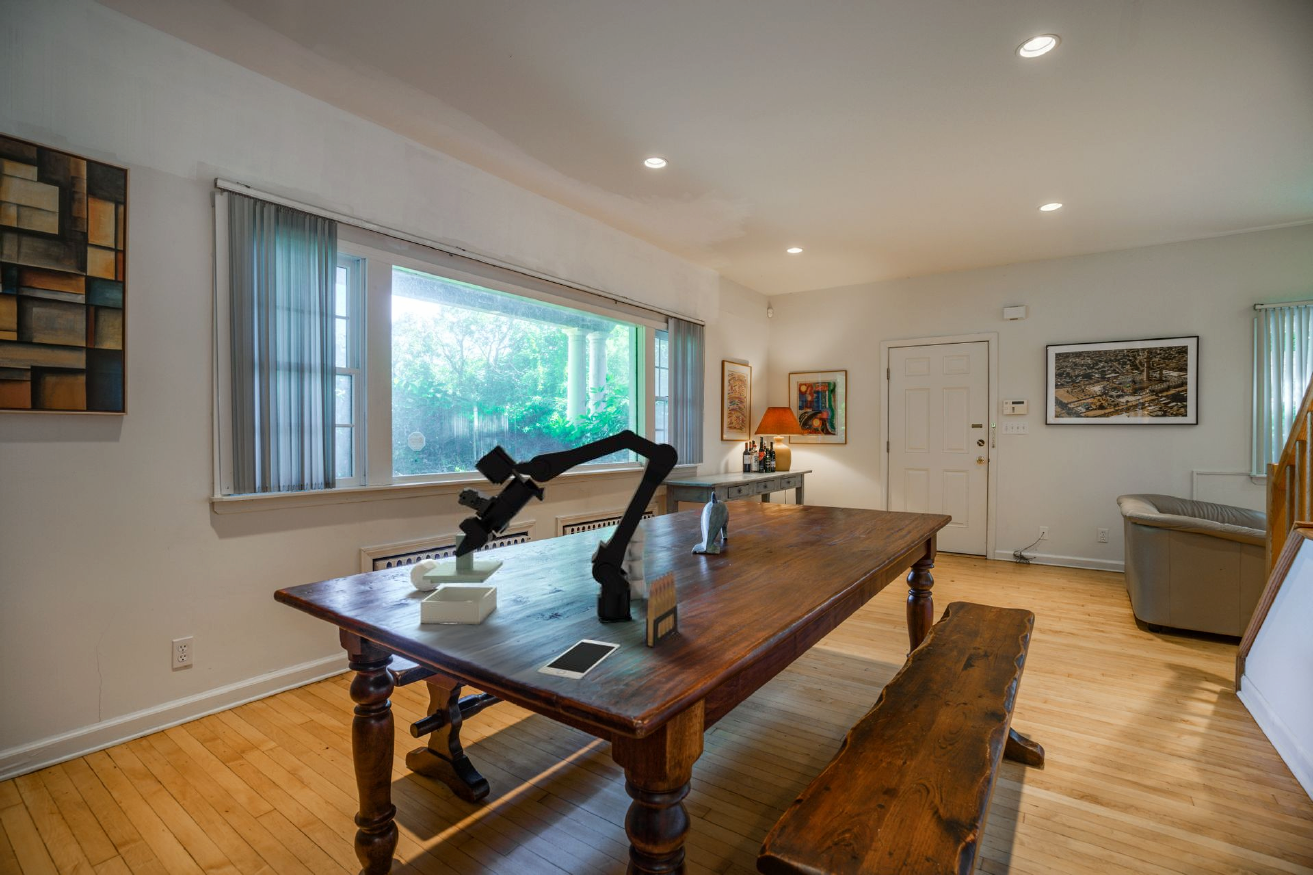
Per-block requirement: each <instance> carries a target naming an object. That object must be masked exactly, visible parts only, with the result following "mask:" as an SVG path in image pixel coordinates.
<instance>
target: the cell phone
mask: <svg viewBox="0 0 1313 875" xmlns="http://www.w3.org/2000/svg"><path fill="white" fill-rule="evenodd" d="M620 647H621V645H620V644H618V643H612V642H611V643H610V642H605V641H599V640H591V639H584V638H583V639H581V640H580V641H578V642H577V643H575V644H574V645H572V646H571V647H569V649H567V650H566V651H564V652H562V653H561V654H560V655H558V656H557V657H555V658H554V659H553V660H551V661H550V662H549V663H547V664H545V665H544V666H542V667H541V668H540V669H538V670H537V673H538V674H543V675H547V676H554V677H560V678H565V679H571V680H578V681H579V680H581V679H583V678H584V677H585V676H587V675H588V674H589V673H590V672H591V671H593V669H595V668H596V667H598V665H600V664H601V663H602V662H603V661H605V660H606V659H607V658H608V657H609V656H611V655H612V654H613V653H614V652H616V651H617V650H618V649H619V648H620ZM616 649H617V650H616Z"/></svg>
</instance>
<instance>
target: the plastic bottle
mask: <svg viewBox="0 0 1313 875" xmlns="http://www.w3.org/2000/svg"><path fill="white" fill-rule="evenodd" d="M641 520H642V519H641ZM641 520H640V522H639V524H638V526H637V528H636V530H635V532H634V534H633V536H632V538H631V540H630V542H629V544H628V546H627V549H626V553H625V556H624V560H623V564H622V568H623V569H624V570H625V571H626V572H627V573H628V577H629V584H630V585H629V587H630V589H631V601H632V600H640V599H642V598H644V596H645V595H646V592H647V582H646V579H645V569H644V562H645V560H644V557H645V546H646V539H647V535H646V532H645V531H644V529H643V527H642V526H641V524H640V523H641Z"/></svg>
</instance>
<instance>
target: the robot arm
mask: <svg viewBox="0 0 1313 875" xmlns="http://www.w3.org/2000/svg"><path fill="white" fill-rule="evenodd" d="M623 450H629V451H631V452H633V453H635V454H638V455H639V456H642V457H643V458H645V459H646V461H645V464H644V468H643V472H642V474H641V475H642V476H641V479H640V481H639V483H638V484H637V487H636V489H635V490H634V492H633V494H632V496H631V498H630V500H629V502H628V504H627V506H626V508H625V510H624V512H623V513H622V516H621V518H620V520H619V521H618V523H617V525H616V527H615V530H614V531H613V533H612V535H611V536H610V537H609V539H608V540H607V541H606V542H605V541H604V540H601V539H600V540H599V543H598V547H597V549H596V551H594V553H592V554H591V561H590V563H591V564H592V565H591V566H592V567H591V575H592V579H594V581H595V582H597V583H598V584H600V586H599V593H598V594H596V614H597V617H598V618H599V619H600V622H602V623H609V622H625V621H626V622H629V621H633V616H632V614H631V608H632V606H631V604H632V600H631V589H630V587H629V585H630V584H629V577H628V573H627V572H626V571H625V570H624V569H623V568H622V564H623V560H624V556H625V553H626V549H627V546H628V544H629V542H630V540H631V538H632V536H633V534H634V532H635V530H636V528H637V526H638V524H639V525H640V523H641V522H640V520H642V518H643V517H644V515H645V512H646V511H647V508H648V507H649V505H650V503H651V500H652V498H653V497H654V496H655V495H654V494H655V493H656V490H657V489H658V488H659V486H660V485H661V484H662V483H663V482H664V481H665V479H666V478H667V477H668V476H669V474H670V473H671V472H672V470H674V468H676V466H677V465H678V464H677V463H678V460H679V455H678V452H677V449H676V448H675V447H674V446H673V445H672V444H668V443H664V442H660V443H656V442H653V441H652V440H650V439H647V438H645V437H642V436H641V435H639V434H637V433H635V432H634V431H633V430H631V429H624V430H621V431H620V432H618V433H615V434H612V435H608V436H606V437H604V438H601V439H598V440H595V441H591V442H589V443H585V444H584V445H583V444H582V445H579V446H577V447H574V448H571V449H565V450H560V451H558V450H557V451H553V452H546V453H541V454H537V455H535V456H533V457H531V459H530V460H526V461H523V460H520V461H519V462H517V461H516V460H515V459H514V458H513V457H512V456H511V455H510V454H508V452H507V451H506V450H505V448H504V447H503V446H501V444H498V445H495V447H493V449H491V450H490V451H489V452H487V453H486V454H485V455H483V456H482V457H481V458H480V459H479V460H478V461H477V462H476V463H475V465H474V468H475V469H476V470H477V471H478V472H479V473H480V474H481V475H482V476H483V477H484V478H486V480H488V482H490V484H491V485H493V486H496V485H499V486H503V485H505V483H507V481H509V480H510V479H511V478H512V476H513V478H512V479H511V480H510V481H509V482H508V483H507V485H506V486H505V487H504V488H503V489H501V491H500V492H498V493H497V494H496V495H492V496H491V495H489V494H487V493H484V492H482V491H480V490H478V489H476V488H474V487H471V486H468V487H464V488H463V489H462V492H461V493H459V494H458V497H459V499H458V501H457V503H458V504H459V505H461V506H465V507H467V508H469V509H472V510H474V511H476V512H475V515H476V516H468V517H466V518H465V519H463V520H462V522H460V524H459V525H458V527H459V529H460V530H461V531H462V532H463V534H466V535H465V537H464V539H463V540H462V542H461V544H460V545H459V547H458V549H457V550H456V549H455V552H454V556H455V557H456V556H457V557H460V556H463V555H465V554H467V553H469V552H471V551H473V552H474V551H476V550H479V549H482V548H484V547H485V546H487V545H488V544H490V543H491V542H492V541H494V540H495V539H497V537H498V536H497V534H498V533H499V534H500V535H502V534H504V533H505V532H506V531H507V530H508V529H509V528H510V522H511V521H512V520H513V519H514V518H515V517H517V515H519V514H520V512H521V511H522V509H524V508H525V507H526V506H527V505H528V503H530V502H531V500H532V499H533V498H534V497H535V498H536V499H537V500H538V501H540V502H543V500H545V498H546V494H545V491H546V486H539V485H538V484H536V483H542V484H543V483H548V482H549V481H551V480H553V479H555V478H557V477H558V476H560V475H562V474H564V473H565V472H567V471H568V470H570V469H572V468H575V467H577V466H580V465H582V464H585V463H588V462H590V461H593V460H596V459H599V458H603V457H605V456H608V455H612V454H614V453H617V452H620V451H623ZM523 475H524V476H528V477H529V478H528V479H526V478H525V477H524V476H523ZM495 533H496V534H495Z"/></svg>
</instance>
